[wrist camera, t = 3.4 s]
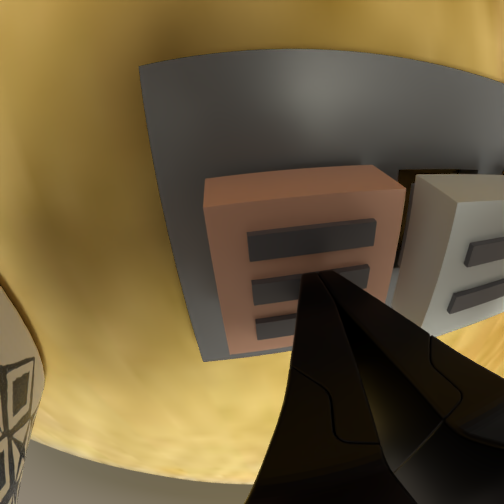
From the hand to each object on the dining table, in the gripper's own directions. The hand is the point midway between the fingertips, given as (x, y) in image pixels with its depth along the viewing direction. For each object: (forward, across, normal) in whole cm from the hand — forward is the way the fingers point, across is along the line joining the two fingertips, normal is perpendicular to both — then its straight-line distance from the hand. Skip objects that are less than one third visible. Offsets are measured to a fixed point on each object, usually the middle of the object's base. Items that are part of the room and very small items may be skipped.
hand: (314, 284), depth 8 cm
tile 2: (+2, -6, 0) cm, 7 cm away
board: (+4, -6, 0) cm, 7 cm away
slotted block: (+4, 0, 0) cm, 4 cm away
